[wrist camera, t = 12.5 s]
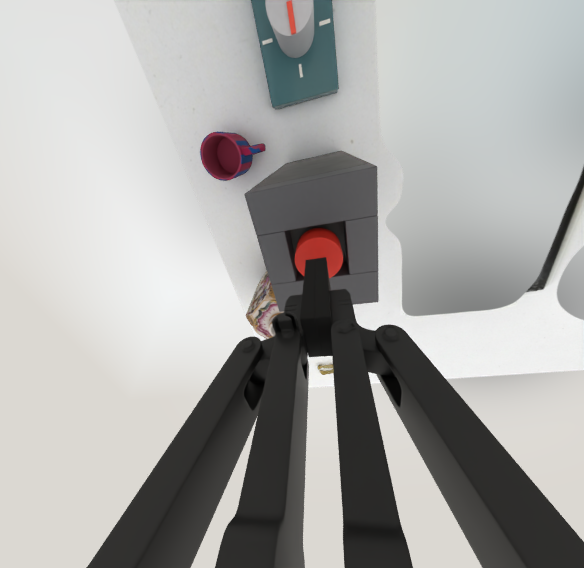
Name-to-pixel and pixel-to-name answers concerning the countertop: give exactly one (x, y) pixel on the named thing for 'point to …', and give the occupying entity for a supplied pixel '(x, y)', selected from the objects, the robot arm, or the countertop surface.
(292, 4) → the dial
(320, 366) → the tongs
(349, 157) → the button box
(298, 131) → the countertop surface
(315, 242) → the power button
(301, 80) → the dial panel
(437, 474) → the robot arm
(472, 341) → the countertop surface
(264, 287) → the decorative jar
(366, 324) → the countertop surface
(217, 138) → the cup
